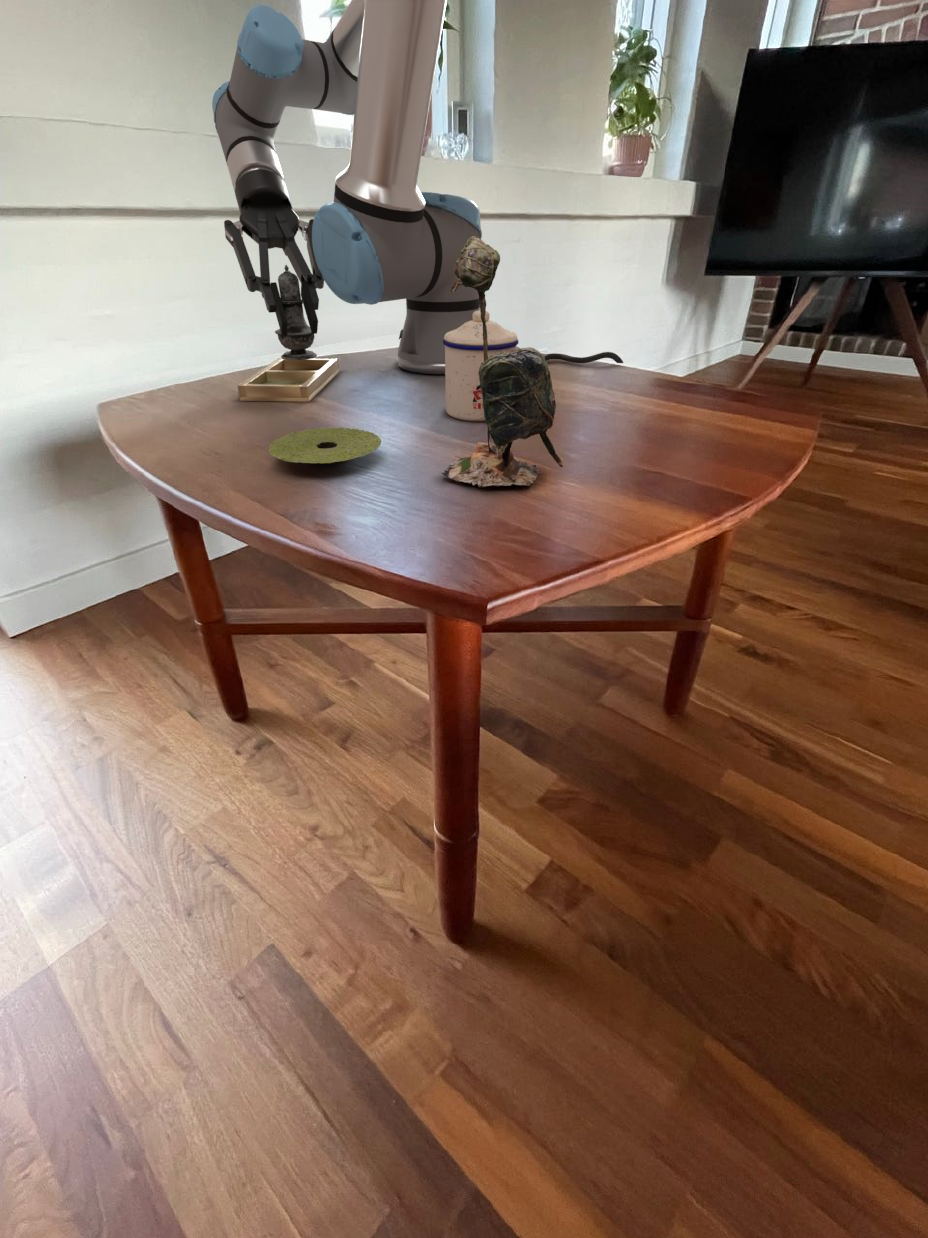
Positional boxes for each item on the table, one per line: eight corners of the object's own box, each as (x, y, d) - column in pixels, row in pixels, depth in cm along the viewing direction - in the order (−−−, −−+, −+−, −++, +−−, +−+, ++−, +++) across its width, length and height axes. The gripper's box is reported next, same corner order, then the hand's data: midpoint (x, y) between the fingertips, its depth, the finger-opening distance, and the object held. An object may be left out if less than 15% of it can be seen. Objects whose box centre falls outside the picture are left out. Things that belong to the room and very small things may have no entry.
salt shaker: (305, 351, 96) (293, 262, 89) (326, 356, 92) (315, 264, 86) (271, 356, 92) (256, 264, 86) (292, 362, 89) (278, 266, 82)
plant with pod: (531, 507, 54) (549, 239, 43) (429, 479, 59) (422, 235, 48) (574, 479, 59) (599, 235, 48) (477, 456, 65) (479, 232, 54)
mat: (304, 491, 57) (301, 470, 56) (253, 459, 64) (250, 440, 63) (404, 463, 63) (402, 445, 62) (347, 437, 70) (345, 420, 69)
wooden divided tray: (339, 371, 98) (337, 358, 97) (309, 401, 83) (307, 386, 82) (280, 371, 98) (278, 357, 97) (240, 400, 83) (237, 385, 82)
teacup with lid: (477, 427, 73) (478, 319, 67) (429, 411, 79) (426, 310, 72) (545, 409, 80) (552, 309, 73) (496, 395, 85) (499, 302, 79)
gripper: (315, 210, 97) (354, 341, 93) (203, 211, 91) (240, 350, 88) (318, 166, 90) (360, 306, 86) (197, 164, 84) (237, 313, 81)
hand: (299, 328), depth 87 cm, fingers closed on salt shaker, 4 cm apart
